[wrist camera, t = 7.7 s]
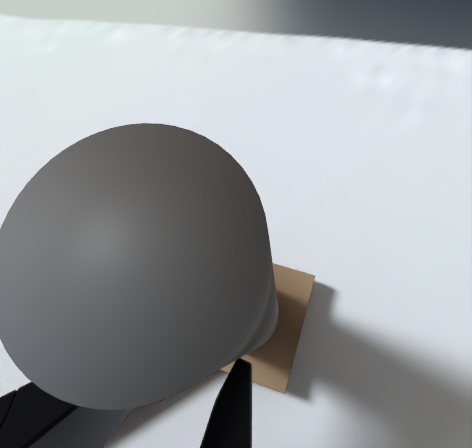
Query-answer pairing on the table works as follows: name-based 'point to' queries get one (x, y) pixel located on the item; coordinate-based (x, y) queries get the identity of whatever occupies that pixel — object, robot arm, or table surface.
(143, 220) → the grey knob lever
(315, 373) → the table surface
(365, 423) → the table surface
